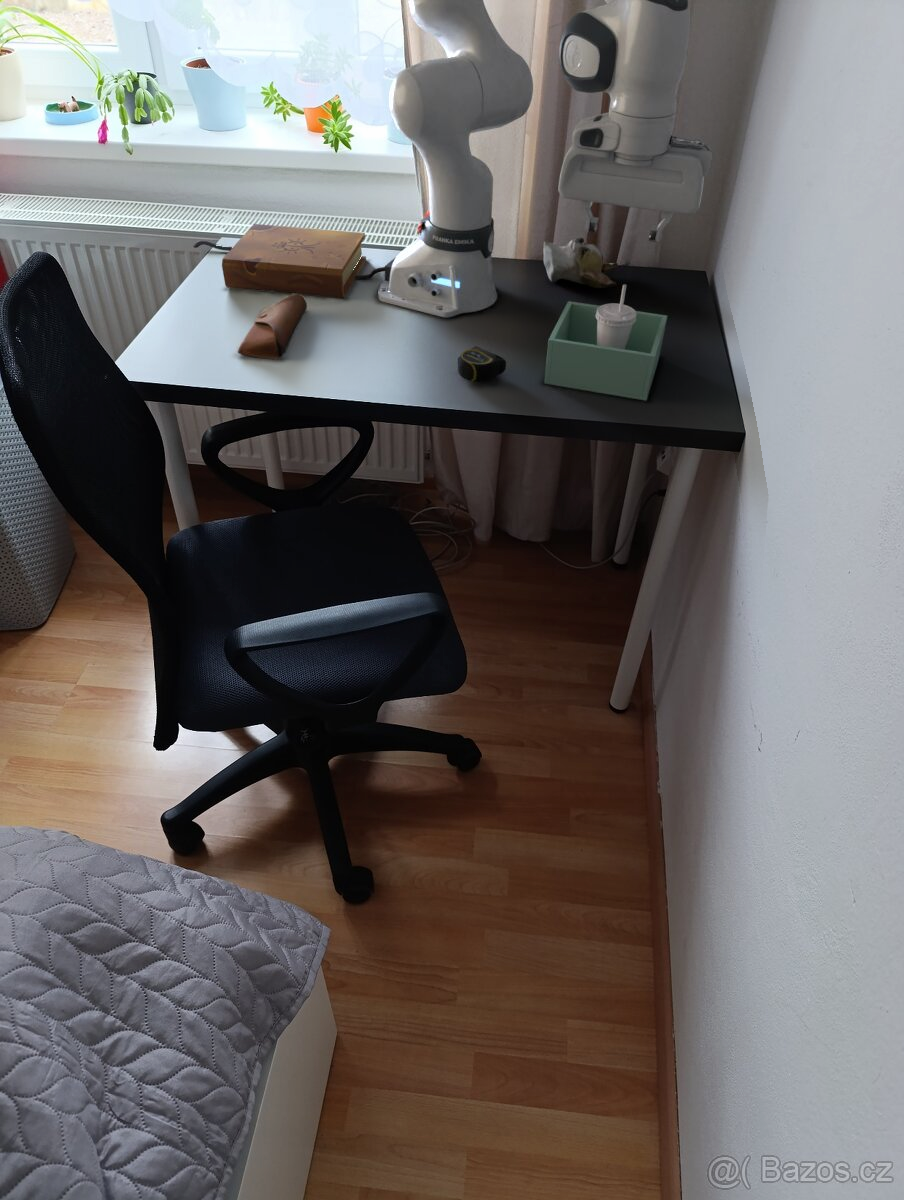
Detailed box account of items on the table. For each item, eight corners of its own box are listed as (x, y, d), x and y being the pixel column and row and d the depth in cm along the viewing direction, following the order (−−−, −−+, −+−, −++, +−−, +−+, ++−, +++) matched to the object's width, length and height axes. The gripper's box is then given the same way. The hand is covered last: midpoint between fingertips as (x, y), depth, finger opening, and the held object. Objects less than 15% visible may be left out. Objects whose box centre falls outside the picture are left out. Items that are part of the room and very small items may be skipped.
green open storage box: (544, 383, 135) (548, 339, 130) (563, 343, 145) (568, 301, 140) (646, 400, 131) (655, 356, 126) (659, 358, 141) (667, 315, 136)
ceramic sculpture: (547, 222, 161) (624, 233, 160) (541, 266, 168) (615, 276, 167) (542, 244, 154) (623, 255, 153) (536, 289, 160) (613, 300, 159)
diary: (226, 290, 159) (220, 260, 155) (257, 252, 172) (253, 223, 168) (343, 300, 156) (340, 269, 152) (366, 260, 170) (364, 231, 166)
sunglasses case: (262, 307, 153) (276, 277, 148) (296, 327, 155) (311, 298, 151) (235, 354, 140) (249, 323, 136) (273, 375, 142) (289, 345, 138)
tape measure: (507, 376, 136) (508, 355, 134) (479, 392, 133) (480, 370, 130) (477, 362, 140) (477, 341, 137) (448, 376, 136) (448, 355, 134)
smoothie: (625, 379, 135) (641, 295, 125) (586, 374, 136) (598, 291, 126) (628, 360, 139) (643, 278, 130) (589, 356, 140) (601, 274, 131)
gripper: (718, 134, 113) (695, 237, 123) (571, 118, 118) (560, 219, 127) (714, 148, 109) (690, 254, 119) (561, 131, 113) (551, 234, 123)
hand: (622, 236), depth 123 cm, fingers open, 8 cm apart
